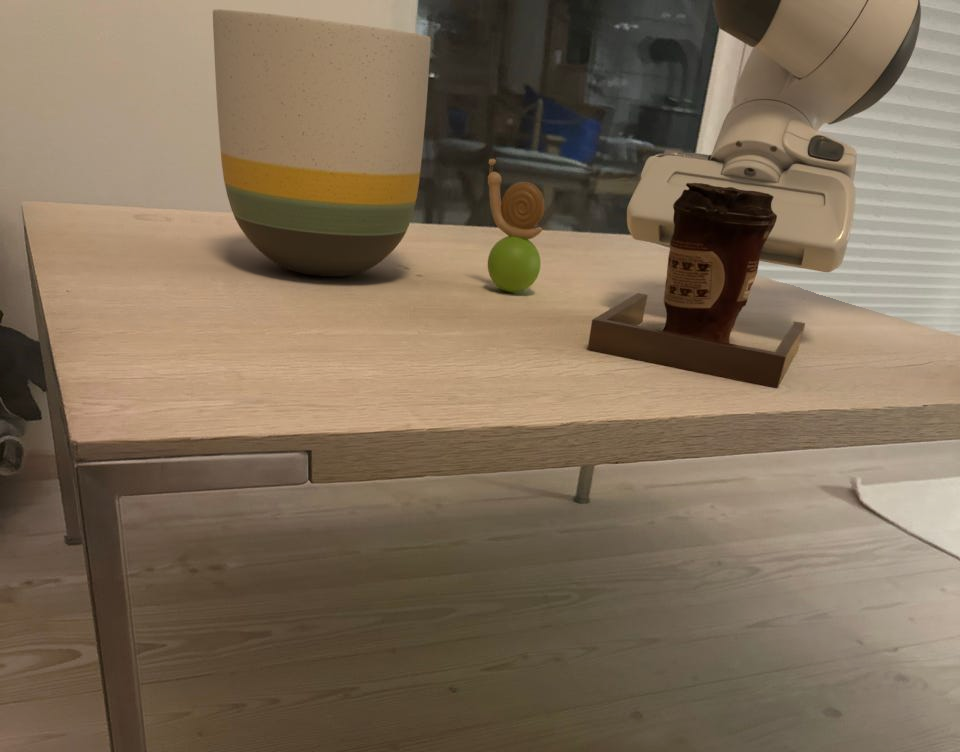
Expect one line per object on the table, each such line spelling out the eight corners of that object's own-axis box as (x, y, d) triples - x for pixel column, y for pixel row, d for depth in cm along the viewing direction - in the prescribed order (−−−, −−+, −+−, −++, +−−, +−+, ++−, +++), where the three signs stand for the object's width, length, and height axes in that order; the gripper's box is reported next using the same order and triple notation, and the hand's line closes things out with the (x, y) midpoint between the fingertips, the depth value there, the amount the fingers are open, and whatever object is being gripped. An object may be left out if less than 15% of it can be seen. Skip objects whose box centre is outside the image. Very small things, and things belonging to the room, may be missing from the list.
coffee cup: (696, 363, 78) (734, 194, 71) (627, 338, 83) (655, 178, 76) (760, 355, 83) (801, 196, 76) (690, 331, 88) (723, 181, 81)
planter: (298, 247, 106) (298, 24, 95) (448, 277, 99) (467, 42, 88) (180, 265, 90) (164, 2, 79) (349, 303, 84) (357, 22, 73)
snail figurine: (485, 282, 99) (498, 157, 93) (542, 292, 98) (559, 166, 91) (468, 289, 95) (480, 159, 88) (528, 300, 93) (544, 168, 87)
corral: (632, 319, 91) (637, 292, 89) (797, 350, 86) (805, 323, 85) (587, 349, 78) (592, 319, 77) (777, 388, 74) (786, 356, 72)
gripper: (650, 122, 86) (602, 244, 84) (875, 152, 81) (832, 284, 78) (651, 173, 92) (607, 288, 90) (862, 204, 87) (821, 329, 84)
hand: (714, 287), depth 84 cm, fingers closed, pressing on coffee cup
